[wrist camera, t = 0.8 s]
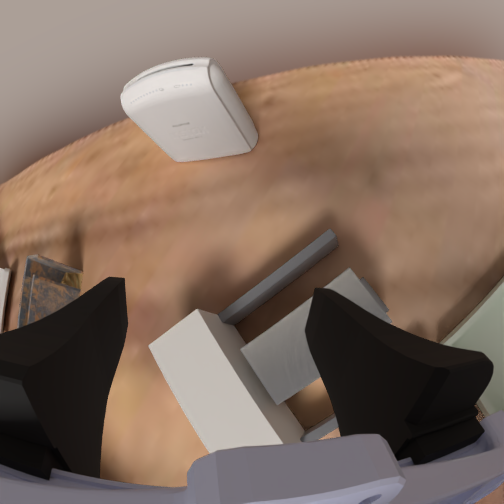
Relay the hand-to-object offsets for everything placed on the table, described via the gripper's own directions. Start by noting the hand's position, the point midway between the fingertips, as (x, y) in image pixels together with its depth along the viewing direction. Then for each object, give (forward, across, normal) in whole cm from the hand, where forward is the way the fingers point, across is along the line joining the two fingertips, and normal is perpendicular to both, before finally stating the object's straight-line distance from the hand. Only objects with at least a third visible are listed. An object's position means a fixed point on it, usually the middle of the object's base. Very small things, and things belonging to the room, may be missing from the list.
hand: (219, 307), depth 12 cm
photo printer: (+26, 0, -4) cm, 27 cm away
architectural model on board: (+21, +16, +16) cm, 31 cm away
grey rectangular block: (+9, -9, +9) cm, 16 cm away
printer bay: (+9, -8, +10) cm, 15 cm away
